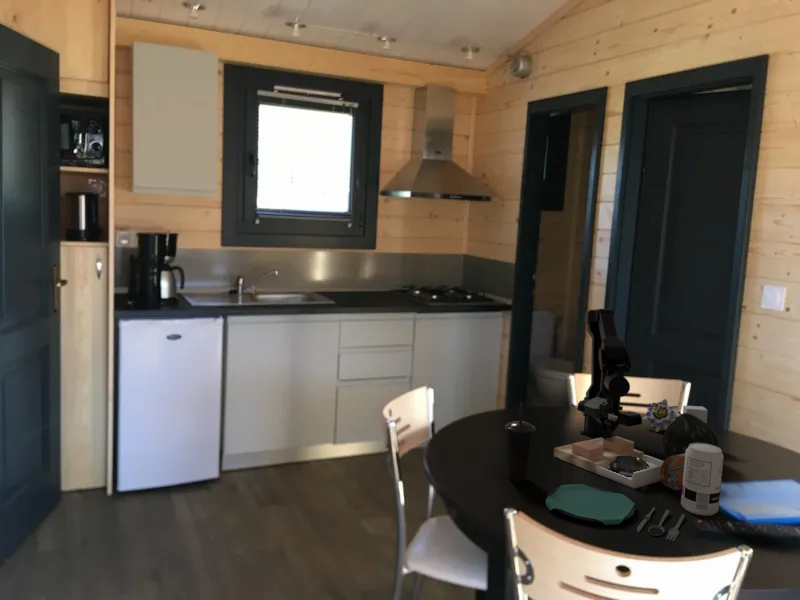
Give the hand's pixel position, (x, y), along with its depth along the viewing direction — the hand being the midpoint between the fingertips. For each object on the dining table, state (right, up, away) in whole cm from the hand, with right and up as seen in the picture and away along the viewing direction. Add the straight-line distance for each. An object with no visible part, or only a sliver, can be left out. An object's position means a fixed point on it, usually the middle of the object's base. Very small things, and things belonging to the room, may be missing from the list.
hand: (606, 441), depth 205 cm
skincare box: (+29, -4, +11) cm, 31 cm away
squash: (+22, -5, -4) cm, 23 cm away
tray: (+4, -6, -15) cm, 17 cm away
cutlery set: (-11, -9, -41) cm, 44 cm away
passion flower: (+26, -2, +27) cm, 37 cm away
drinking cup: (-29, -5, -22) cm, 37 cm away
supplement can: (+11, -9, -37) cm, 40 cm away
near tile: (-8, -2, -8) cm, 11 cm away
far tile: (+2, -2, -3) cm, 4 cm away
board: (-4, -4, -4) cm, 7 cm away
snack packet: (+13, -7, -22) cm, 27 cm away
